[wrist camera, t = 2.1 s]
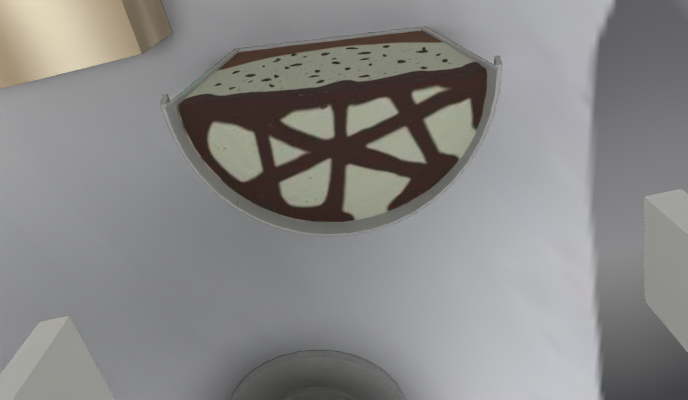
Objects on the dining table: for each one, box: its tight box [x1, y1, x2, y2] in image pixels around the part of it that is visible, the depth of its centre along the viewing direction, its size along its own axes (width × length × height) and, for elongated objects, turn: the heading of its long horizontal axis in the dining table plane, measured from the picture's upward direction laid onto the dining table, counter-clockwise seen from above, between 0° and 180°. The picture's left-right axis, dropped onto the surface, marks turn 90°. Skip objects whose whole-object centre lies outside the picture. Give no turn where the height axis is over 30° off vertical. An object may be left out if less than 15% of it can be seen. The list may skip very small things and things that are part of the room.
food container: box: [161, 26, 502, 236], centre depth 25 cm, size 12×6×10 cm, turn 96°
